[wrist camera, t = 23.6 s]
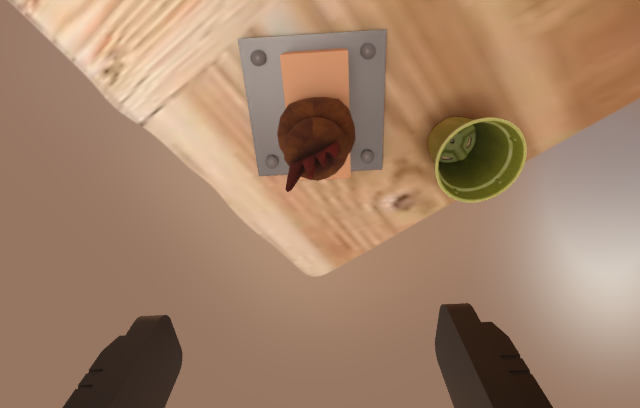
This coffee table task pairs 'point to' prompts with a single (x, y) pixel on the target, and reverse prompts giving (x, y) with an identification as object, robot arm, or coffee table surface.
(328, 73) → the brick
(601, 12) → the coffee table surface
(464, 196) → the plant pot
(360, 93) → the baseplate
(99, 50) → the coffee table surface
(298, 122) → the wooden figurine
